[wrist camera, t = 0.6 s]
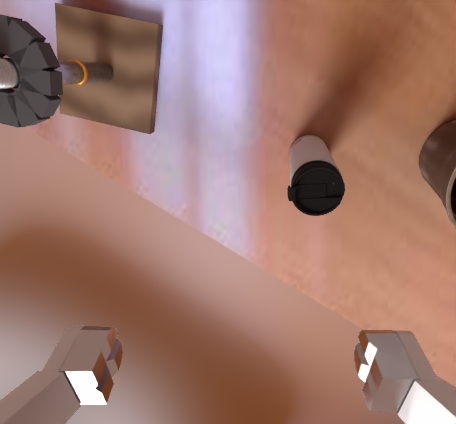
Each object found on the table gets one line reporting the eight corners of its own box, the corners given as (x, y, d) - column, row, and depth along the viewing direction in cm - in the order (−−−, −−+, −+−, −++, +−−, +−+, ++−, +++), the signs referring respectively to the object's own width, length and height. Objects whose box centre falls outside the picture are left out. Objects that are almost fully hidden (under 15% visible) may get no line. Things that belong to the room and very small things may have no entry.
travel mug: (287, 135, 54) (287, 168, 36) (327, 133, 52) (348, 166, 34) (287, 171, 56) (287, 218, 38) (326, 169, 55) (345, 218, 37)
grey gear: (-36, 7, 33) (-55, 3, 32) (60, 27, 33) (46, 24, 31) (-20, 112, 38) (-35, 114, 36) (64, 132, 37) (53, 135, 36)
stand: (63, 5, 51) (55, 2, 49) (162, 25, 50) (158, 23, 48) (67, 111, 59) (60, 113, 57) (153, 132, 57) (149, 134, 56)
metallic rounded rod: (95, 59, 52) (-42, 51, 30) (114, 63, 52) (-9, 58, 30) (95, 80, 53) (-35, 88, 32) (114, 85, 53) (-5, 95, 32)
